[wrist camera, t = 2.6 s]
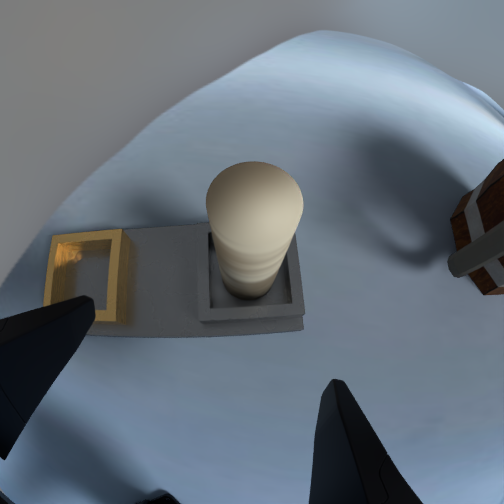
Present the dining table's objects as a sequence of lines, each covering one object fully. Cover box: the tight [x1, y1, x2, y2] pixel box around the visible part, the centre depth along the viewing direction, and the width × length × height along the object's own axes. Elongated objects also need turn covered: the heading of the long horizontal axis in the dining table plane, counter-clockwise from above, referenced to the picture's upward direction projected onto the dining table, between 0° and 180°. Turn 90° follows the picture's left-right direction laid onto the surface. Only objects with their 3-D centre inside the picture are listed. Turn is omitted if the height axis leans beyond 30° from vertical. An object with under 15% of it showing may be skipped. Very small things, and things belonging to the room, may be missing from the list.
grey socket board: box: [43, 223, 305, 338], centre depth 21 cm, size 21×9×3 cm, turn 94°
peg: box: [206, 162, 303, 301], centre depth 17 cm, size 4×4×11 cm
